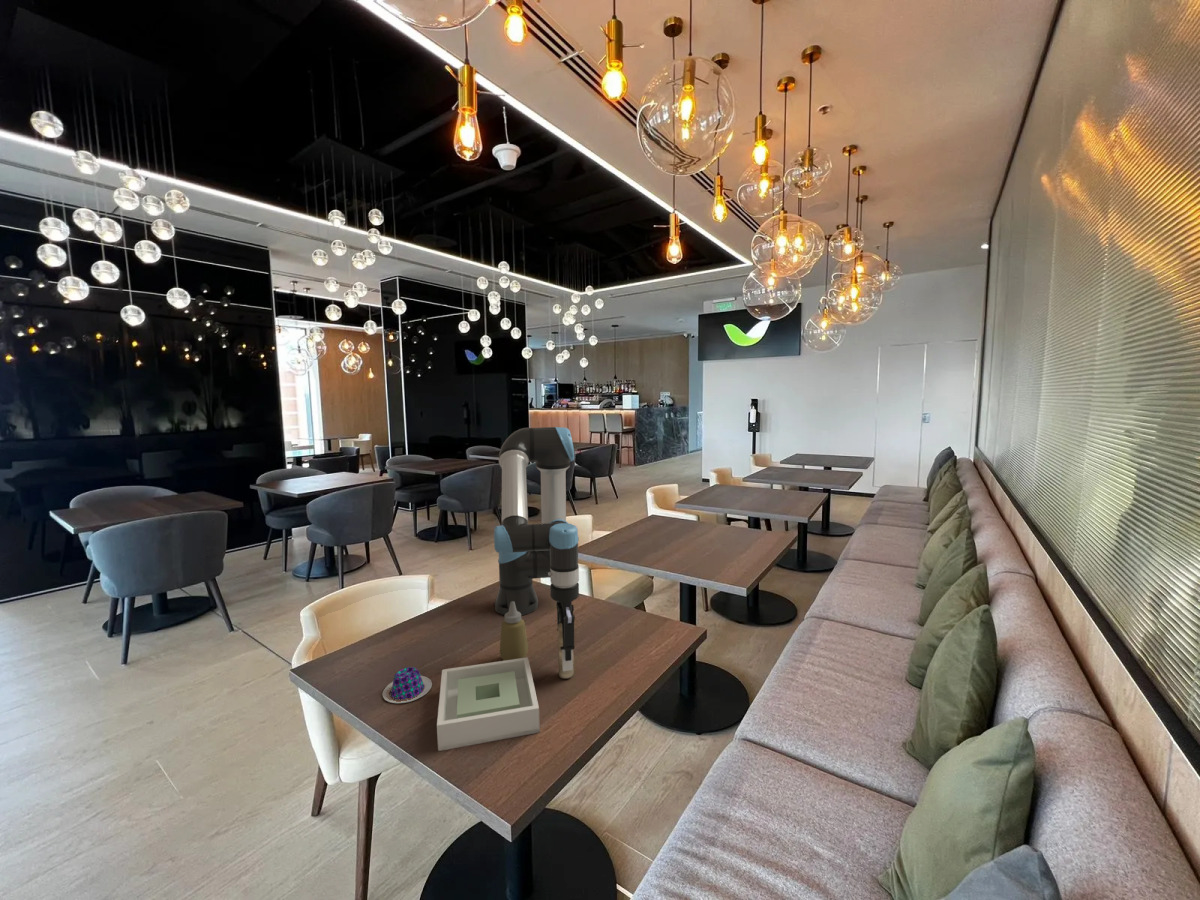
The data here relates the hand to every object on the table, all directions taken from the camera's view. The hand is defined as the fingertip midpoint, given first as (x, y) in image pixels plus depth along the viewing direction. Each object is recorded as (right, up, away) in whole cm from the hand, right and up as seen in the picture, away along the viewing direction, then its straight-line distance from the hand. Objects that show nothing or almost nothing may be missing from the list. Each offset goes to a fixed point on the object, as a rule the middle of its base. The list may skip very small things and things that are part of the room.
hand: (566, 665), depth 134 cm
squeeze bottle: (-15, -3, +7) cm, 17 cm away
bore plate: (-18, -5, -14) cm, 23 cm away
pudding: (-41, -5, -5) cm, 41 cm away
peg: (0, -3, 0) cm, 3 cm away
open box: (-18, -5, -14) cm, 23 cm away
